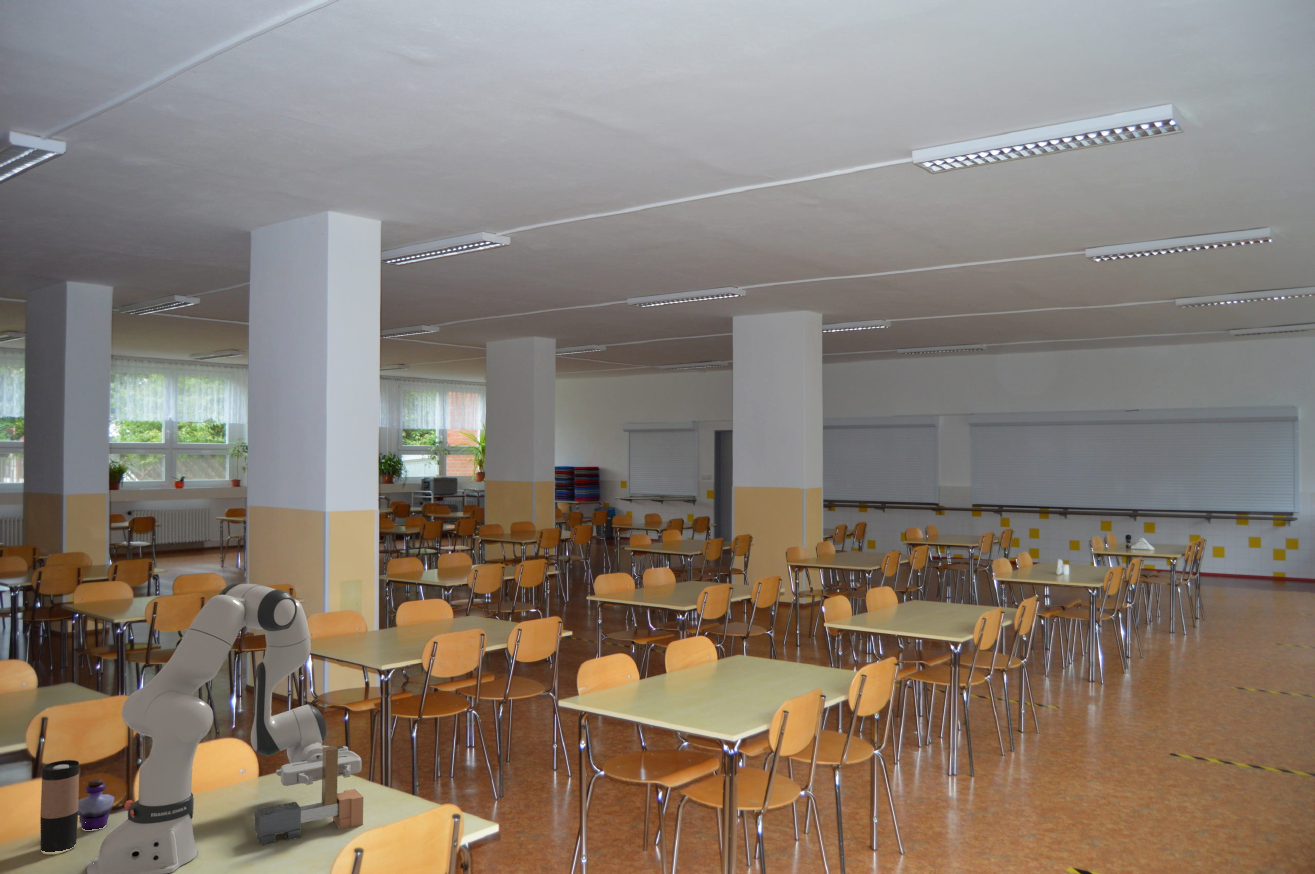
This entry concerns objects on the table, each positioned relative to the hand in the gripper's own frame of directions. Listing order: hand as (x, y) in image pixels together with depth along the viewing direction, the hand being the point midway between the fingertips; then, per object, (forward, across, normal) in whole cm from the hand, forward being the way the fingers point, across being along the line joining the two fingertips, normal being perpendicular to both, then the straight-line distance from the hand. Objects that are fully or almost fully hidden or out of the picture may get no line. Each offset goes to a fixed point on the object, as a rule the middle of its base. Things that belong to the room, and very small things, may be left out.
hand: (329, 777), depth 237 cm
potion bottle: (-31, -50, +12) cm, 60 cm away
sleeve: (+1, -12, +12) cm, 17 cm away
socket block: (+1, +5, +12) cm, 13 cm away
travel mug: (-21, -58, +12) cm, 62 cm away
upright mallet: (+1, -3, +9) cm, 10 cm away
